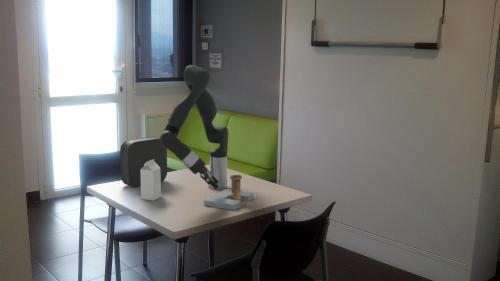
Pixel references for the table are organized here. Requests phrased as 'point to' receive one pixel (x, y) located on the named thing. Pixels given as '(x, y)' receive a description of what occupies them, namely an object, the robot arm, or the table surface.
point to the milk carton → (150, 181)
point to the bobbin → (236, 187)
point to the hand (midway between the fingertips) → (217, 185)
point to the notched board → (227, 200)
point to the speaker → (141, 158)
